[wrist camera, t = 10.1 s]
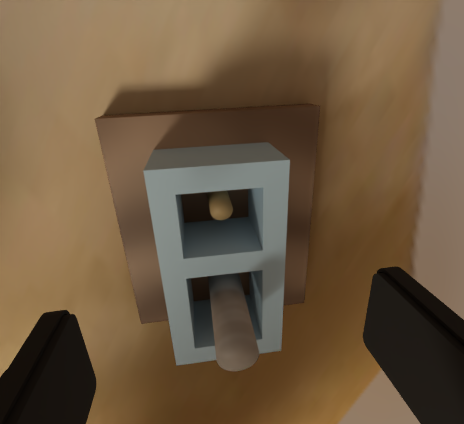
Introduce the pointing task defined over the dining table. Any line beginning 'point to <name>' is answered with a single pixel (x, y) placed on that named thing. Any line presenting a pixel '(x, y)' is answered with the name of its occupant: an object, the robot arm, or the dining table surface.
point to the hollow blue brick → (220, 239)
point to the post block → (210, 206)
